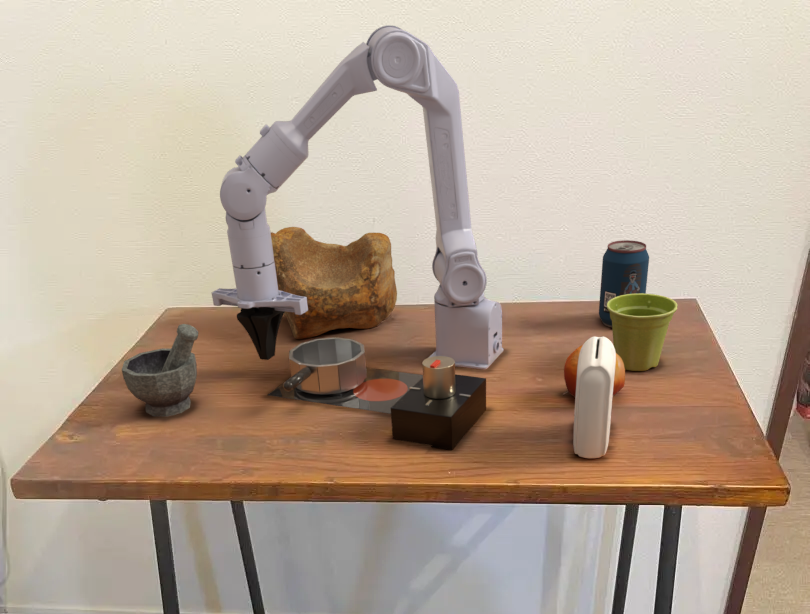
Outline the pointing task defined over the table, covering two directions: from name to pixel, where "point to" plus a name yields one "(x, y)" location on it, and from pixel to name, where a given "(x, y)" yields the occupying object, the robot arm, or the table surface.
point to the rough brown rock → (335, 280)
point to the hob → (362, 391)
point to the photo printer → (594, 397)
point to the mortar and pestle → (164, 375)
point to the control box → (439, 413)
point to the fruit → (571, 373)
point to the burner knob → (439, 377)
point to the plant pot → (640, 328)
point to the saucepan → (326, 366)
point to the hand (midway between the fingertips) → (267, 357)
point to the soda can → (622, 273)
